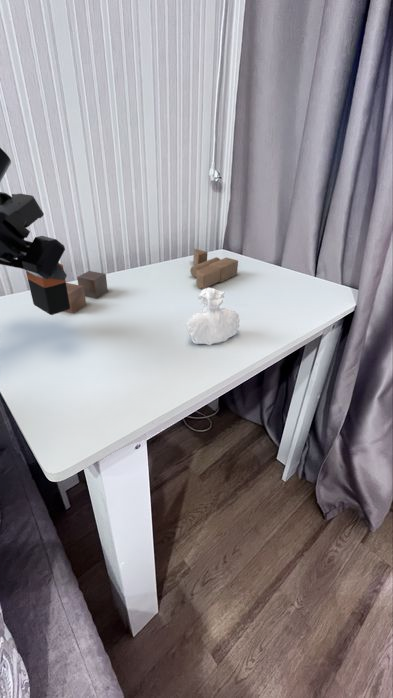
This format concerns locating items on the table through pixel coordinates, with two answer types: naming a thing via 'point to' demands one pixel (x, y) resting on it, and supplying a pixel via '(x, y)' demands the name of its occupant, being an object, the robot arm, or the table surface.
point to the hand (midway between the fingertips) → (51, 273)
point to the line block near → (75, 297)
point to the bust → (212, 320)
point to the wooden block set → (212, 269)
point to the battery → (49, 293)
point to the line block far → (93, 284)
